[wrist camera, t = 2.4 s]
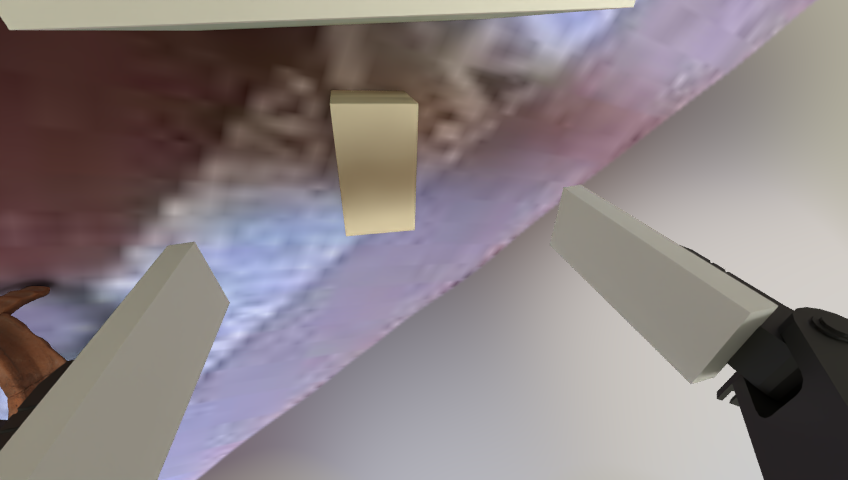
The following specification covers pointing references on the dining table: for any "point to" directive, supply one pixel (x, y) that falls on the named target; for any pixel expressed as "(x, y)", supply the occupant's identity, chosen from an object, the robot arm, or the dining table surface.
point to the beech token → (376, 159)
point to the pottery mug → (22, 350)
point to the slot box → (267, 12)
